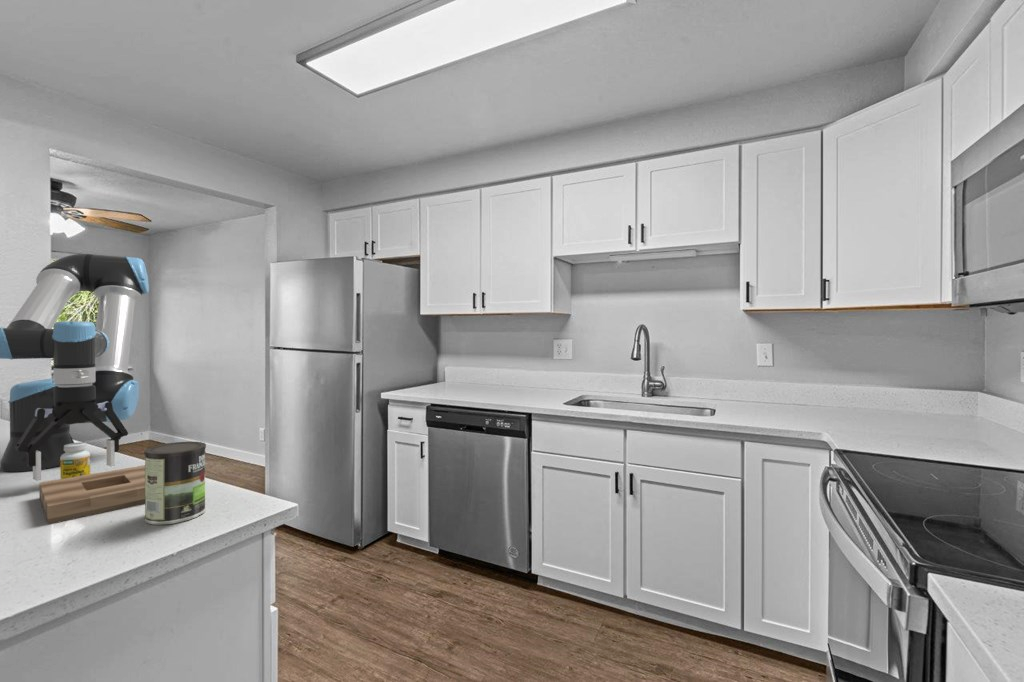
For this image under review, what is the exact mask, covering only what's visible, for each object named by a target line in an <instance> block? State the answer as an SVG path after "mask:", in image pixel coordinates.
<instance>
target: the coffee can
mask: <svg viewBox="0 0 1024 682" xmlns="http://www.w3.org/2000/svg"><path fill="white" fill-rule="evenodd" d="M206 447H207V445H206V443H205V442H202V441H175V442H169V443H168V442H167V443H163V444H158V445H157V444H156V445H154V446H150V447H148V448H146V449H144V451H143V455H144V461H145V462H144V465H145V504H144V505H145V507H144V508H145V509H144V511H145V516H144V517H145V518H144V521H145V523H147V524H149V525H153V526H162V525H172V524H178V523H183V522H186V521H190V520H193V519H195V518H198V517H200V516H202V515H203V514H204V513H206V510H207V509H206ZM201 514H202V515H201ZM199 515H200V516H199Z"/></svg>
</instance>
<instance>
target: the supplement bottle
mask: <svg viewBox="0 0 1024 682" xmlns="http://www.w3.org/2000/svg"><path fill="white" fill-rule="evenodd" d="M86 449H87V443H86V442H74V443H71V444H66V445H64V451H65V453H64V454H63V455H61V457H60V466H59V467H60V469H59V470H60V479H65V478H71V477H77V476H83V475H89V474H91V452H89V451H88V450H86Z"/></svg>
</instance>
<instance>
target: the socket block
mask: <svg viewBox="0 0 1024 682" xmlns="http://www.w3.org/2000/svg"><path fill="white" fill-rule="evenodd" d="M38 486H39V494H38V495H39V500H40V504H41V507H42V510H43V513H45V514H44V517H45V516H46V517H45V519H46V522H47V524H48V525H51V524H57V523H60V522H59V521H61V522H64V521H65V520H66V521H69V519H70V520H73V518H75V519H79V518H78V517H80V518H83V517H82V516H84V517H88V516H87V515H89V516H93V514H94V515H97V514H103V513H107V511H108V512H112V511H116V510H121V509H126V508H131V507H136V506H139V505H145V464H144V465H139V466H131V467H126V468H121V469H114V470H107V471H101V472H97V473H90V474H89V475H83V476H77V477H71V478H65V479H61V478H60V479H55V480H54V479H53V480H47V481H46V480H45V481H43V482H39V484H38Z"/></svg>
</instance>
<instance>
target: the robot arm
mask: <svg viewBox="0 0 1024 682" xmlns="http://www.w3.org/2000/svg"><path fill="white" fill-rule="evenodd" d="M35 279H36V286H35V287H34V289H33V290H32V292H31V293H30V295H28V297H27V299H26V300H25V301H24V303H23V304H22V306H21V307H20V309H19V310H18V311H17V313H16V314H15V316H14V317H13V318H12V320H11V322H10V323H9V324H8V326H6V327H1V326H0V359H2V360H3V359H6V360H7V359H8V360H25V359H26V360H29V359H30V360H31V359H53V362H52V363H53V378H45V379H38V380H32V381H26V382H20V383H16V384H14V385H13V386H12V387H11V388H10V392H9V401H8V404H9V441H8V443H7V446H6V448H5V449H4V453H3V455H2V458H1V459H0V470H1V471H4V472H29V471H30V472H31V471H32V479H33V480H35V481H36V482H38V481H41V480H42V470H44V469H51V468H55V467H60V457H61V455H63V454H64V453H65V451H64V445H66V444H71V443H75V442H74V439H73V437H72V434H71V431H70V429H71V428H70V427H71V426H70V425H75V424H90V423H91V424H93V425H94V426H95V427H96V428H97V429H99V430H100V431H101V432H103V433H104V434H105V435H106V436H108V437H109V439H106V466H109V467H115V462H116V461H115V453H117V452H119V451H120V440H121V439H122V438H124V437H126V436H128V435H129V432H128V429H126V427H125V426H124V425H123V423H122V421H126V420H129V419H130V418H131V417H132V416H134V414H135V411H136V409H137V405H138V402H139V398H140V384H139V382H138V381H137V380H134V375H133V374H132V373H130V372H129V370H128V368H129V360H130V353H131V352H130V351H131V342H132V333H133V323H134V315H135V314H134V313H135V304H137V303H138V302H140V301H141V299H142V295H147V294H149V291H150V287H149V286H150V285H149V277H148V273H147V269H146V264H145V262H144V261H143V259H141V258H140V257H130V256H127V255H125V256H119V255H117V256H116V255H106V254H105V255H104V254H93V253H92V254H89V253H76V254H71V255H67V256H63V257H61V258H59V259H56V260H54V261H52V262H50V263H49V264H47V265H46V266H44V268H42V269H41V270H40V271H39V273H38V274H37V276H36V278H35ZM79 292H90V293H92V292H93V295H94V297H96V298H97V299H98V305H97V306H98V308H97V314H96V321H95V323H94V322H92V321H64V320H63V321H57V320H58V318H59V317H60V315H61V313H62V312H63V310H64V308H65V306H66V305H67V303H68V301H69V300H70V299H71V297H74V296H76V294H78V293H79ZM106 423H111V425H112V426H113V428H114V429H115V430H116V431H114V430H113V429H112V428H110V427H109V426H108V425H106Z"/></svg>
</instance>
